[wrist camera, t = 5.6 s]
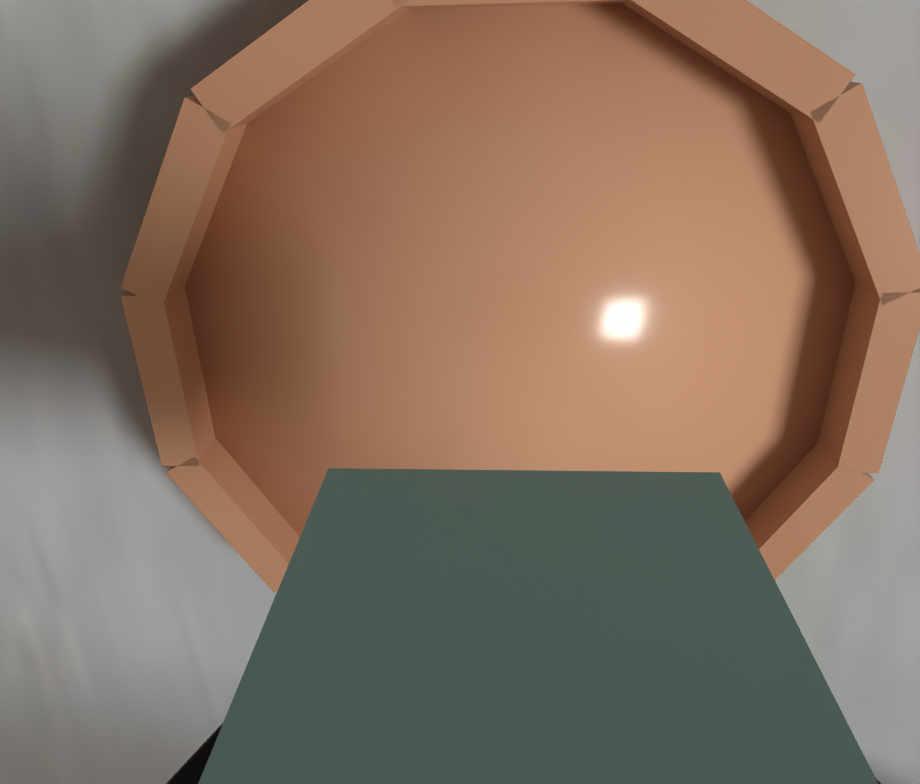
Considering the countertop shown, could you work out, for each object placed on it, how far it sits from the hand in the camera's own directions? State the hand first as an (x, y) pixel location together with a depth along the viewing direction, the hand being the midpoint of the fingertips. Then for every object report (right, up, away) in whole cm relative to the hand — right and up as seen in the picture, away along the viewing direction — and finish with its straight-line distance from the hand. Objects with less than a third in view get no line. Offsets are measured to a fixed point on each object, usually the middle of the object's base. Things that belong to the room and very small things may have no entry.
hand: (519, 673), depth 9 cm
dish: (0, +5, +9) cm, 10 cm away
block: (0, 0, +1) cm, 1 cm away
